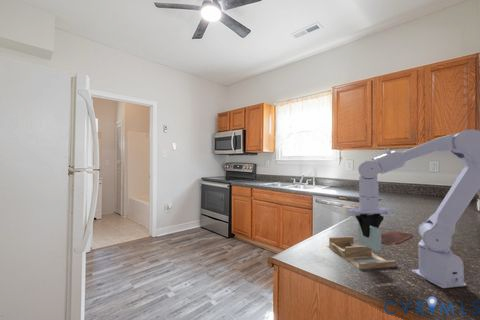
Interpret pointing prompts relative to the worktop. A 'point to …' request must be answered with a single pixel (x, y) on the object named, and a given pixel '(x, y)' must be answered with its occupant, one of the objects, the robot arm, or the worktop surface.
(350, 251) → the rack
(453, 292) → the worktop surface
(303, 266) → the worktop surface
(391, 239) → the wooden tablet
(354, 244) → the offcut
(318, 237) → the worktop surface
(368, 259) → the felt pad
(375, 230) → the panel
